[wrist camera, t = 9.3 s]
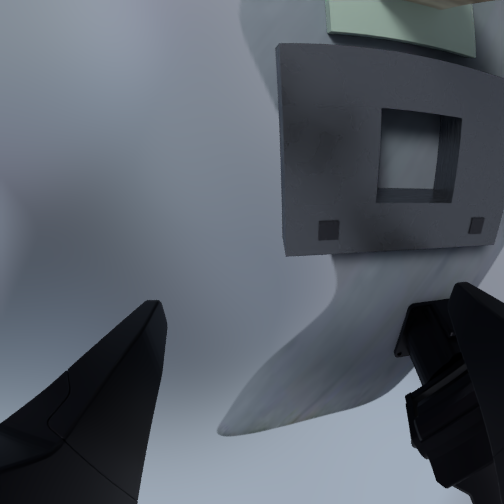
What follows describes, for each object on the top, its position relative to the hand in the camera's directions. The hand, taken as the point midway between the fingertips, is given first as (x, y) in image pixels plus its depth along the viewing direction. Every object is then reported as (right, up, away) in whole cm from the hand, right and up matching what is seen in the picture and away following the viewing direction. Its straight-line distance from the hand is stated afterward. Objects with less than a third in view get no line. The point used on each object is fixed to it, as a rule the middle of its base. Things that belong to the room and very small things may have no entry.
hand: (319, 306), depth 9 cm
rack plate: (+8, +8, +9) cm, 14 cm away
